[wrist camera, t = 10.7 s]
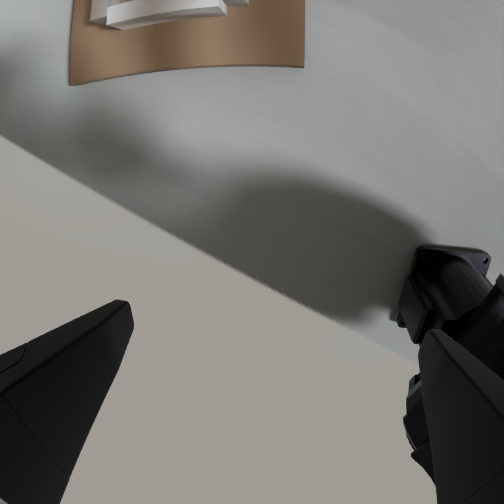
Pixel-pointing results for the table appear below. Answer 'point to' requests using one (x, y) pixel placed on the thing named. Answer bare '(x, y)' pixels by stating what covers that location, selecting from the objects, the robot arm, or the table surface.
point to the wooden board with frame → (182, 36)
